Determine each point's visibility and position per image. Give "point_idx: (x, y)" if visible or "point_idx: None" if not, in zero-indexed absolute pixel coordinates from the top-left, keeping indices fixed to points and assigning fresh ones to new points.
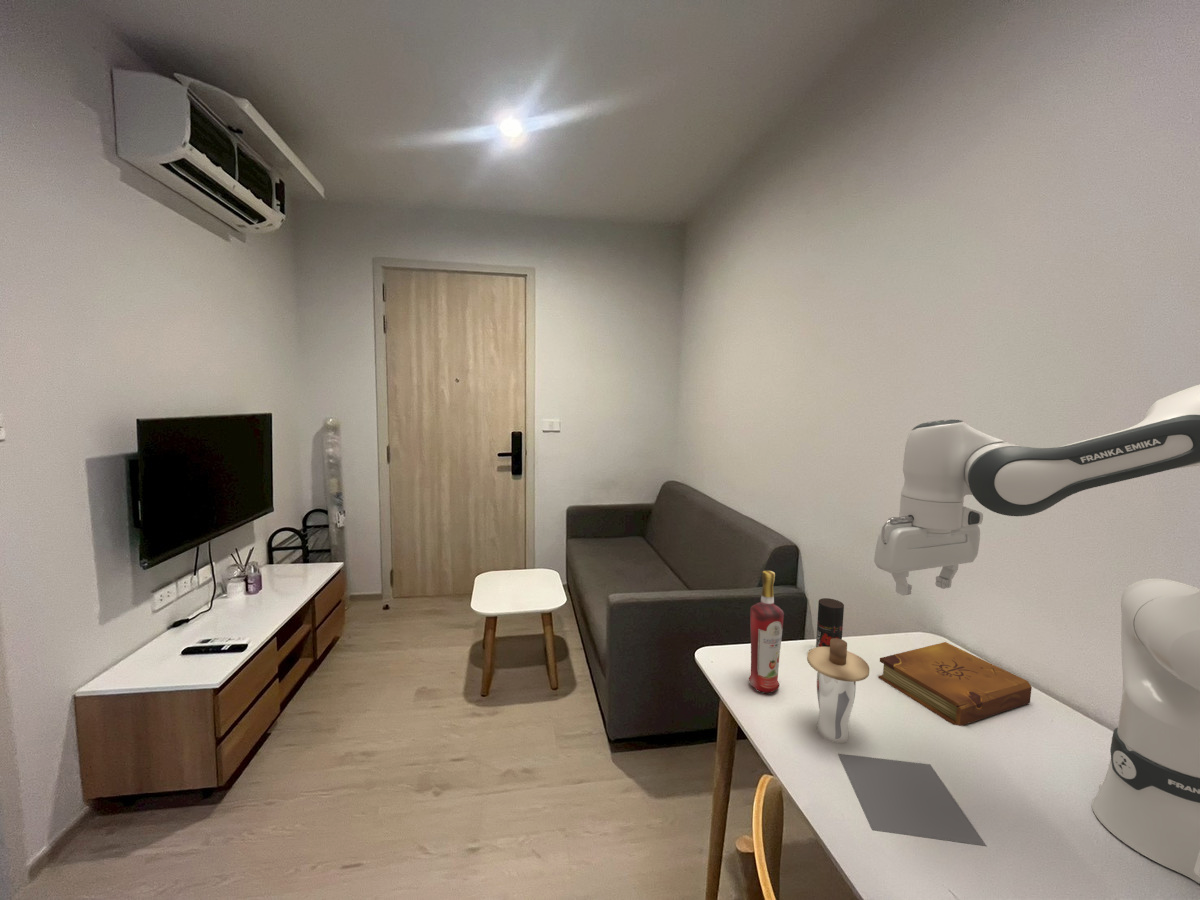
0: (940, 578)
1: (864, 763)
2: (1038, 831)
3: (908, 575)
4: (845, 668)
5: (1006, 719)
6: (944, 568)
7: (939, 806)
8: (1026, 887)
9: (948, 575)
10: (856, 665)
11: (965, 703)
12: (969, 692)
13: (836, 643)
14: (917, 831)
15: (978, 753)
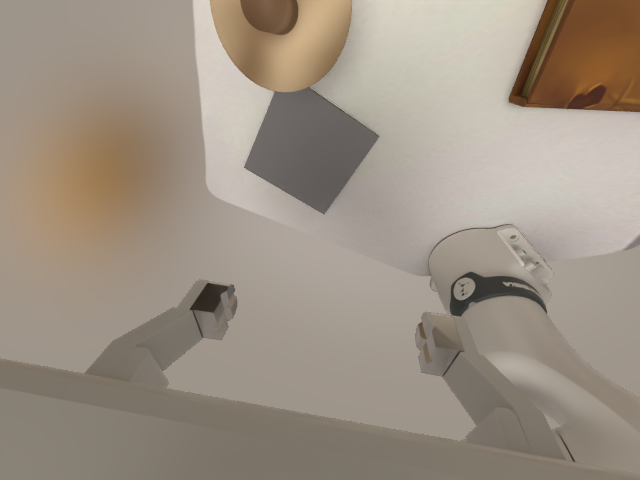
0: (431, 355)
1: (303, 101)
2: (385, 221)
3: (165, 387)
4: (273, 49)
5: (603, 118)
6: (495, 402)
7: (327, 176)
8: (319, 236)
9: (458, 388)
10: (308, 50)
11: (546, 103)
12: (598, 86)
13: (250, 6)
14: (281, 184)
15: (462, 145)
